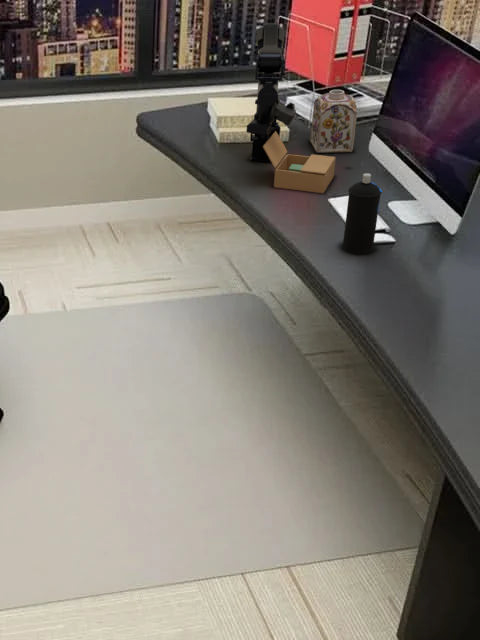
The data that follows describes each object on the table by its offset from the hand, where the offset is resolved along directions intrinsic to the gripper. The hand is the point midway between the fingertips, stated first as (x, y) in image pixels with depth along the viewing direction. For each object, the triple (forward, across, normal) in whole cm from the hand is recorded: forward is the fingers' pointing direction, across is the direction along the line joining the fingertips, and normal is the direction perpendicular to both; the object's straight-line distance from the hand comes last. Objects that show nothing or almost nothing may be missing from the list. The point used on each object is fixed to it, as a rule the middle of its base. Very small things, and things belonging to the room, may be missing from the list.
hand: (263, 147), depth 299 cm
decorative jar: (+9, +32, -14) cm, 36 cm away
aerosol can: (+9, -40, -38) cm, 55 cm away
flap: (0, 0, -4) cm, 4 cm away
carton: (+9, 0, -13) cm, 16 cm away
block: (+9, 0, -11) cm, 14 cm away
